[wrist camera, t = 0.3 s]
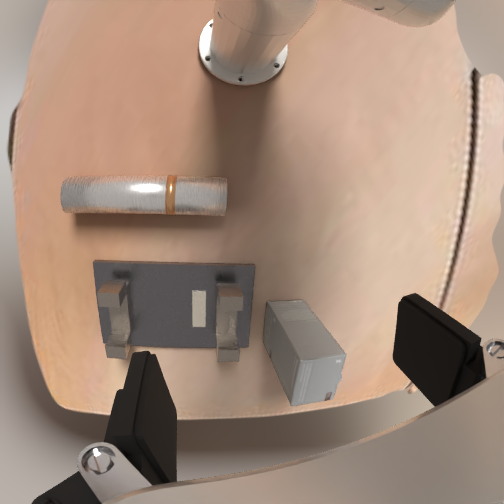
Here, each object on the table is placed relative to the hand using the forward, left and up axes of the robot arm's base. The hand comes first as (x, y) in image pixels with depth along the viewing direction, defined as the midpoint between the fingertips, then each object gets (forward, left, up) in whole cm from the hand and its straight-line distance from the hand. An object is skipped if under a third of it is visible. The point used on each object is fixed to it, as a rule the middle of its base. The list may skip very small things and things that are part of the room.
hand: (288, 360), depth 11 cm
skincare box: (+18, +11, -35) cm, 41 cm away
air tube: (-2, -11, -32) cm, 34 cm away
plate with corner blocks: (+15, -7, -35) cm, 38 cm away
